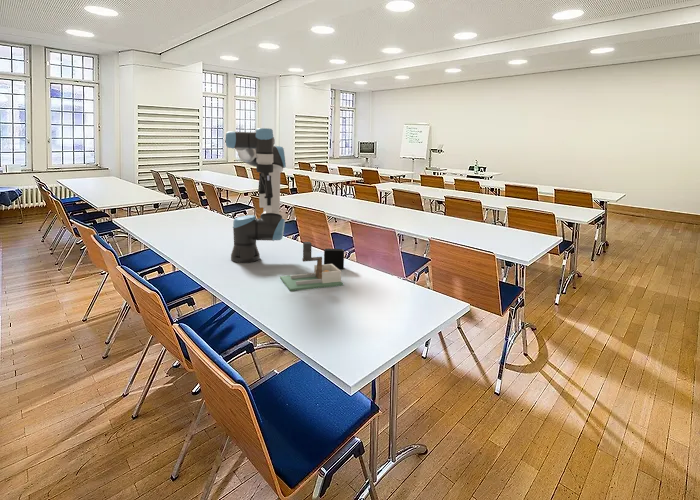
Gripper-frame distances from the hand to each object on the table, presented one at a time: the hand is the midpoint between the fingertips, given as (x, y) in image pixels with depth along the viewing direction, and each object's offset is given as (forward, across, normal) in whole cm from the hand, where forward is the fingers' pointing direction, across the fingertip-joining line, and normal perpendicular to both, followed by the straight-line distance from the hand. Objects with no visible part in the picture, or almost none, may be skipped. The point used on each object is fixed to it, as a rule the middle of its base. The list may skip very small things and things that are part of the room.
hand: (265, 210), depth 204 cm
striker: (+30, +16, +18) cm, 39 cm away
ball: (+29, +16, +25) cm, 41 cm away
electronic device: (+32, -1, +35) cm, 47 cm away
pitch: (+32, +16, +18) cm, 40 cm away
